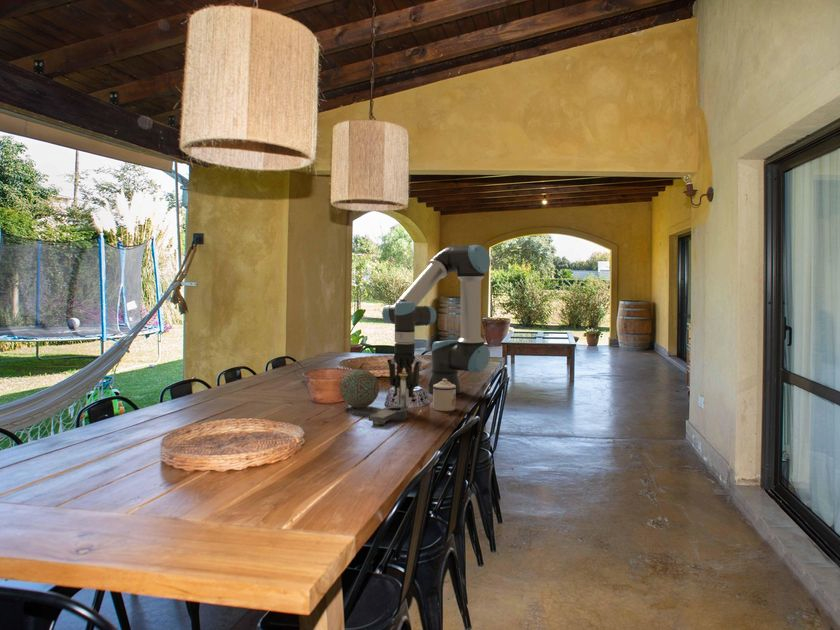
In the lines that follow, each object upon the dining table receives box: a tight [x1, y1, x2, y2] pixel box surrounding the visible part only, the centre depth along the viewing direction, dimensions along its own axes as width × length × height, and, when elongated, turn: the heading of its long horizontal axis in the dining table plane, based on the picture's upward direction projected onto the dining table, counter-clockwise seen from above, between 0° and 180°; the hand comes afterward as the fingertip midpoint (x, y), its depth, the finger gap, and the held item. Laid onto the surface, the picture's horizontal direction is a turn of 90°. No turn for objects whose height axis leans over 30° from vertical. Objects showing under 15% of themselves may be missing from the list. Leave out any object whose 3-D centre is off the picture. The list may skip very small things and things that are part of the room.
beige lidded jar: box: [432, 379, 457, 412], centre depth 230 cm, size 12×9×12 cm
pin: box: [398, 371, 409, 412], centre depth 223 cm, size 5×5×14 cm
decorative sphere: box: [339, 368, 380, 409], centre depth 229 cm, size 15×15×15 cm
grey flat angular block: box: [351, 406, 408, 427], centre depth 211 cm, size 18×20×3 cm
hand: (403, 404), depth 224 cm, fingers closed on pin, 3 cm apart
